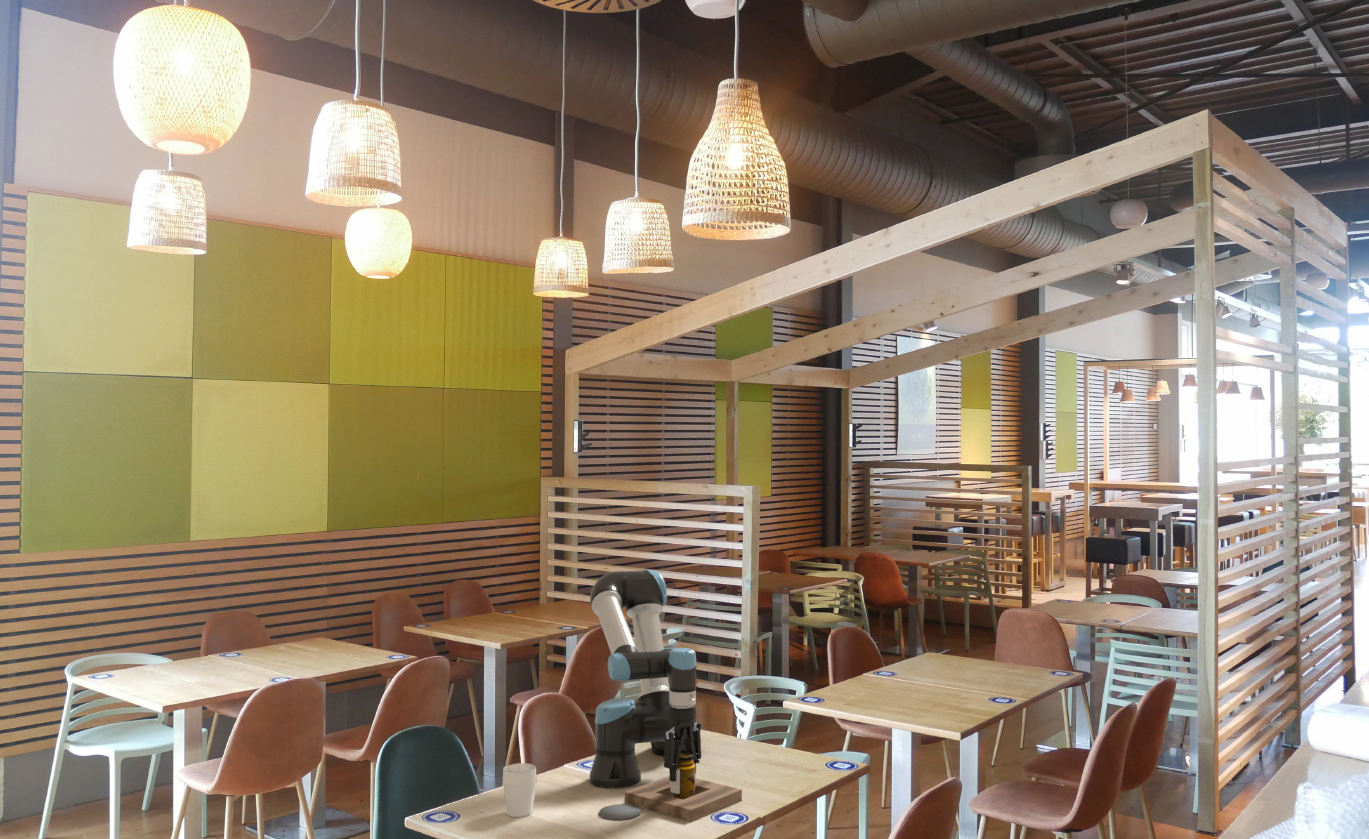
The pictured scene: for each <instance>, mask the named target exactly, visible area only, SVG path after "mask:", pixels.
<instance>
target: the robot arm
mask: <svg viewBox="0 0 1369 839" xmlns="http://www.w3.org/2000/svg"><path fill="white" fill-rule="evenodd" d="M667 593H668V591H667V585H666V582H665V579H664V577H663V575H662V574H661V573H660V571H657V570H648V569H643V570H625V571H624V570H623V571H618V570H616V571H609V572H607V573H606V574H603V575H601V577H600V578H598V580H597V581H595V583H594V585H593V587H592V589H591V592H590V595H589V603H590V607H591V609H592V611H593V613H594V614H595V615H596V616H597V617H598V620H599V623H600V626H601V629H602V631H603V634H604V637H605V639H606V642H607V646H608V648H609V650H610V655H609V656H608V659H607V660H608V661H607V670H608V675H609V678H610V679H611V680H612V681H622V682H627V681H636V680H639V681H640V689H641V693H640V694H639V696H638V697H637V702H636V701H635V699H634V698H632V697H617V698H611V699H608V700H604V701H602V702H601V703H600V704H598V705H597V707H596V709H595V718H594V723H595V756H594V759H593V763H592V766H591V770H590V772H589V783H590V784H591V785H593V786H596V787H598V788H599V787H600V788H605V789H621V788H623V789H624V788H628V786H629V787H632V786H633V787H634V786H635V785H638V784H640V783H641V781H642V778H641V777H642V774H641V769H640V768H639V764H638V760H637V756H636V744H643V743H644V744H645V743H647V744H648V743H651V742H658V741H664V742H665V750H664V756H663V767H664V768H665V769H669V776H670V791H671V792H672V793H676V794H679V793H680V769H677V768H678V763H679V757H680V752H681V747H682V745H683V743H684V744H685V748H686V753H690V754H692V755H693V757H694V758H693V761H694V763H693V764H694V765H695V775H696V774H697V764H699V763H700V760H701V759H702V740H701V731H702V730H701V729H702V723H698V722H696V723H694V720H695V719H696V720H697V706H696V703H697V691H696V690H697V663H698V662H697V656H696V651H695V649H692V648H688V647H675V648H670V647H667V648H666V647H665V648H664V641H663V640H664V639H663V633H662V627H661V621H660V614H661V613H662V612H663V611H664V610H663V609H664V608H663V607H665V605H666V604H667V601H668V596H667ZM623 609H626V615H627V616H628V617H629V618H631V619H632V628H633V635H634V637H633V635H632V632H631V630H630V626H629V624H628V622H627V619H626V617H625V616H626V615H625V614H624V611H623ZM668 677H669V682H668ZM677 740H680V741H677ZM696 753H697V754H696Z"/></svg>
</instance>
